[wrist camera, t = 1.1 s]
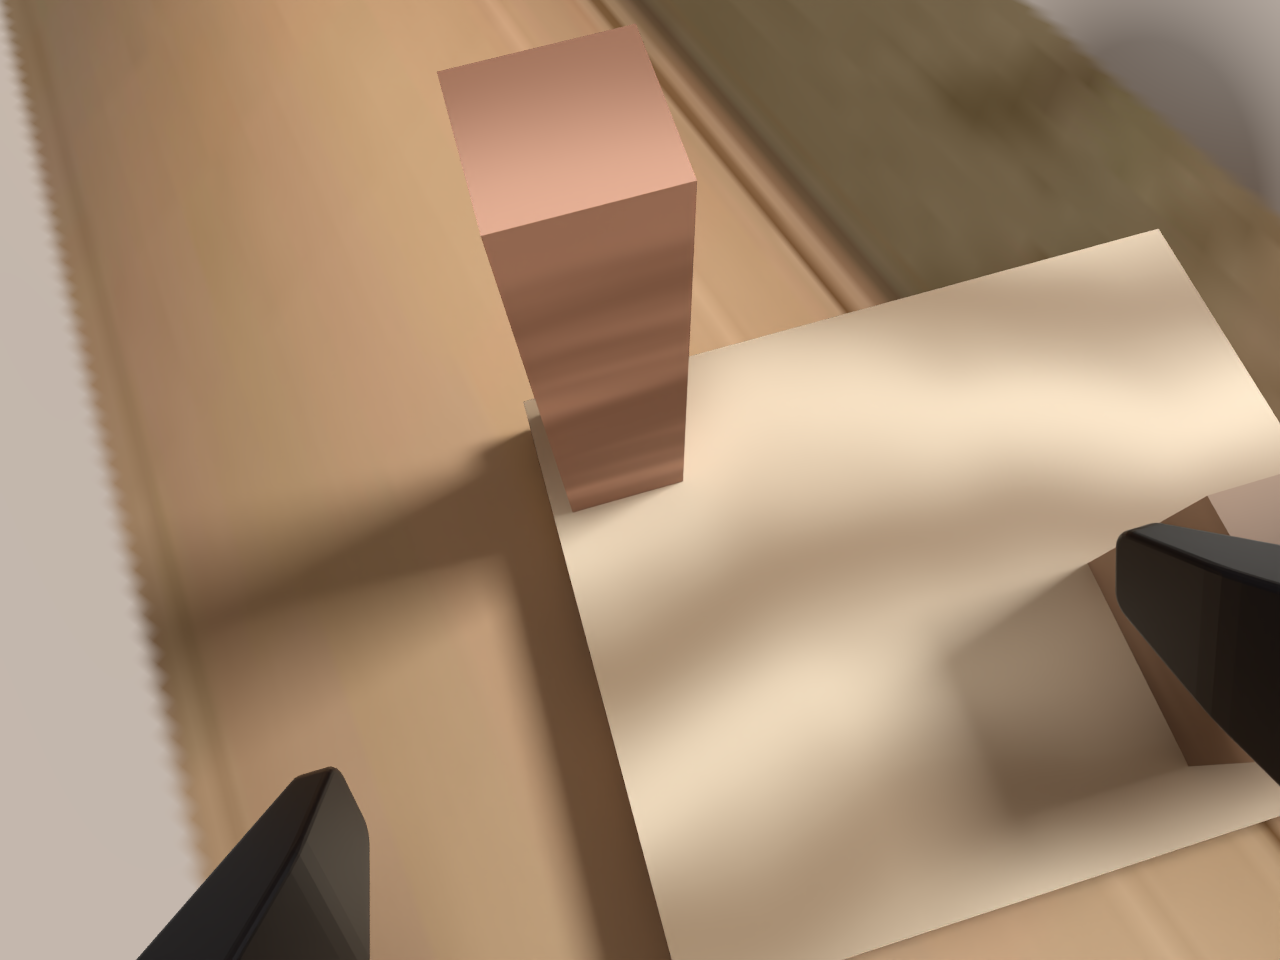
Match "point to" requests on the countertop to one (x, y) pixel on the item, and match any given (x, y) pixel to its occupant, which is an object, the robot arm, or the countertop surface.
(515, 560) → the countertop surface
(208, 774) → the countertop surface
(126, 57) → the countertop surface
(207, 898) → the robot arm
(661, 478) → the board with upright post
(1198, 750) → the walnut cube
